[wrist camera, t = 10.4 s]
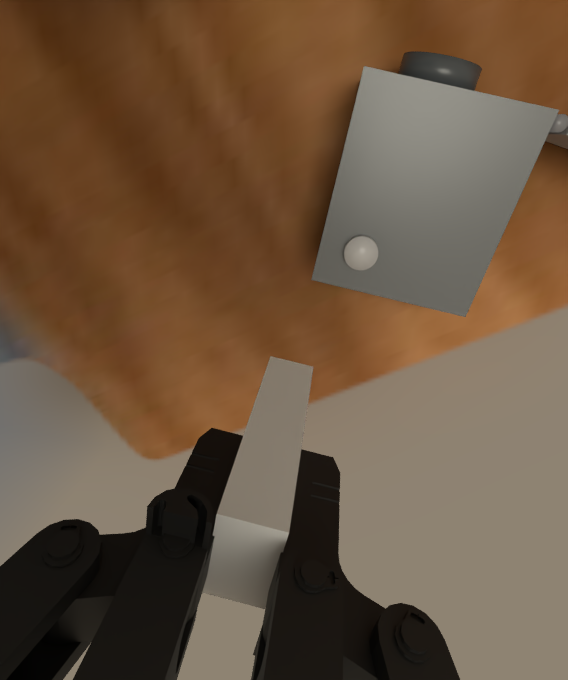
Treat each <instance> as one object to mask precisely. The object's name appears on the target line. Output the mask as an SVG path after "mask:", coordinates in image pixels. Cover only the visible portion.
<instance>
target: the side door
mask: <svg viewBox="0 0 568 680" xmlns="http://www.w3.org/2000/svg"><path fill="white" fill-rule="evenodd" d="M545 141H546V142H549V143H552V144H555V145H557V146H560V147H563V148H566V149H568V126H567V128H566V129H565V130H564V131H562V132H549V133H548V136H547V138H546V140H545Z"/></svg>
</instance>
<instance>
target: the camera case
mask: <svg viewBox="0 0 568 680" xmlns="http://www.w3.org/2000/svg"><path fill="white" fill-rule="evenodd" d="M481 70H482V68H481V67H480V66H478V65H477V64H474V63H472V62H469V61H466V60H463V59H460V58H456V57H452V56H447V55H442V54H436V53H429V52H406V53H404V55H403V59H402V62H401V66H400V70H399V73H398V74H397V73H392V72H388V71H383V70H379V69H375V68H370V67H366V66H364V69H363V72H362V76H361V80H360V84H359V88H358V93H357V97H356V101H355V105H354V109H353V113H352V117H351V121H350V125H349V129H348V133H347V137H346V141H345V145H344V149H343V153H342V158H341V162H340V166H339V170H338V174H337V178H336V182H335V186H334V190H333V194H332V198H331V202H330V206H329V210H328V214H327V218H326V222H325V227H324V231H323V235H322V239H321V243H320V247H319V251H318V255H317V259H316V263H315V267H314V271H313V276H312V280H314V281H318V282H322V283H327V284H331V285H335V286H339V287H343V288H347V289H351V290H356V291H360V292H364V293H368V294H372V295H376V296H380V297H385V298H389V299H393V300H397V301H401V302H405V303H410V304H414V305H418V306H422V307H426V308H430V309H434V310H439V311H443V312H447V313H451V314H455V315H459V316H463V317H466V314H467V312H468V310H469V308H470V306H471V303H472V301H473V299H474V297H475V295H476V292H477V290H478V288H479V286H480V284H481V281H482V279H483V277H484V275H485V272H486V270H487V268H488V266H489V264H490V261H491V259H492V257H493V255H494V253H495V250H496V248H497V246H498V244H499V242H500V239H501V237H502V235H503V233H504V231H505V228H506V226H507V224H508V222H509V220H510V217H511V215H512V213H513V211H514V208H515V206H516V204H517V202H518V200H519V197H520V195H521V193H522V191H523V189H524V186H525V184H526V182H527V180H528V178H529V175H530V173H531V171H532V169H533V167H534V164H535V162H536V160H537V158H538V156H539V153H540V151H541V149H542V147H543V144H544V142H545V140H546V138H547V136H548V133H549V132H562V131H564V130H565V129H566V128H567V126H568V116H567V115H565V114H558V111H559V110H557V109H552V108H548V107H543V106H539V105H535V104H530V103H526V102H521V101H517V100H512V99H508V98H503V97H499V96H495V95H490V94H486V93H481V92H477V91H474V90H475V87H476V84H477V81H478V79H479V76H480V73H481ZM557 114H558V115H557Z"/></svg>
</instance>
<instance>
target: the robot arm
mask: <svg viewBox="0 0 568 680" xmlns="http://www.w3.org/2000/svg"><path fill="white" fill-rule="evenodd" d="M312 373H313V367H312V366H308V365H304V364H300V363H296V362H292V361H288V360H284V359H280V358H276V357H272V356H270V359H269V362H268V365H267V368H266V371H265V374H264V377H263V380H262V383H261V386H260V389H259V392H258V394H257V397H256V400H255V403H254V406H253V409H252V412H251V415H250V418H249V421H248V424H247V427H246V430H245V432H244V435H243V436H241V435H238V434H234V433H230V432H226V431H222V430H218V429H214V428H211V429H210V430H209V431H207V432H206V433H205V434H204V435H202V436H201V437H200V438H199V439H198V441H197V443H196V445H195V447H194V449H193V452H192V455H191V456H190V458H189V460H188V462H187V465H186V466H185V468H184V470H183V472H182V474H181V476H180V478H179V480H178V483H177V485H176V487H175V489H171V490H166V491H164V492H163V493H161V494H160V495H158V496H156V497H155V498H154V499H153V500H152V501H151V503H150V504H149V505H148V506H147V520H146V528H144V529H141V530H138V531H136V532H131V533H124V534H106V535H99V532H98V530H97V529H96V528H95V527H94V526H93V525H92V524H91V523H89V522H85V521H82V520H79V519H74V520H63V521H60V522H57V523H54V524H51V525H49V526H47V527H46V528H45V529H43V530H42V531H40V532H39V533H37V534H36V535H35V536H34V537H33V538H32V539H30V540H29V541H28V542H27V543H26V544H25V545H24V546H23V547H21V548H20V549H19V550H18V551H17V552H16V553H15V554H14V555H13V556H12V557H10V558H9V559H8V560H7V561H6V562H5V563H4V564H3V565H1V566H0V680H63V679H64V677H65V676H66V674H68V672H69V671H70V670H71V668H72V667H73V666H74V664H75V663H76V662H77V660H78V659H79V658H80V656H81V655H82V654H83V652H84V651H85V650H86V648H87V647H88V646H89V644H90V643H91V645H90V646H89V648H88V650H87V652H86V655H85V656H84V658H83V661H82V662H81V664H80V666H79V668H78V670H77V672H76V674H75V677H74V678H73V680H177V677H178V674H179V670H180V667H181V664H182V661H183V658H184V654H185V651H186V648H187V644H188V642H189V638H190V635H191V632H192V629H193V625H194V622H195V618H196V612H197V607H198V604H199V601H200V597H201V594H202V593H207V594H210V595H214V596H218V597H221V598H225V599H229V600H233V601H236V602H240V603H244V604H248V605H252V606H255V607H259V608H263V609H265V607H266V609H265V615H264V620H263V625H262V628H261V631H260V635H259V638H258V641H257V644H256V647H255V650H254V653H253V655H255V661H254V666H253V672H252V678H251V680H460V678H459V676H458V673H457V670H456V668H455V665H454V663H453V660H452V657H451V655H450V652H449V650H448V647H447V645H446V642H445V639H444V638H443V636H442V634H441V632H440V630H439V629H438V627H437V626H436V624H435V623H434V622H433V621H432V620H431V619H430V618H429V617H428V616H427V614H425V613H424V612H422V611H421V610H419V609H417V608H416V607H414V606H412V605H407V604H403V603H398V604H394V605H390V606H388V608H386V609H385V608H384V607H382V606H380V605H379V604H377V603H376V602H374V601H372V600H371V599H369V598H367V597H366V596H364V595H363V594H362V593H360V592H359V591H358V590H356V589H355V588H354V587H353V586H352V584H350V582H349V581H348V580H347V578H346V576H345V575H344V573H343V572H342V569H341V566H340V563H339V556H338V543H339V498H340V497H339V496H340V492H339V489H340V472H339V469H338V467H337V465H336V463H335V461H334V458H333V457H329V456H325V455H321V454H317V453H313V452H310V451H306V450H302V449H301V447H302V441H303V434H304V427H305V420H306V414H307V407H308V400H309V393H310V386H311V379H312Z"/></svg>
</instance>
